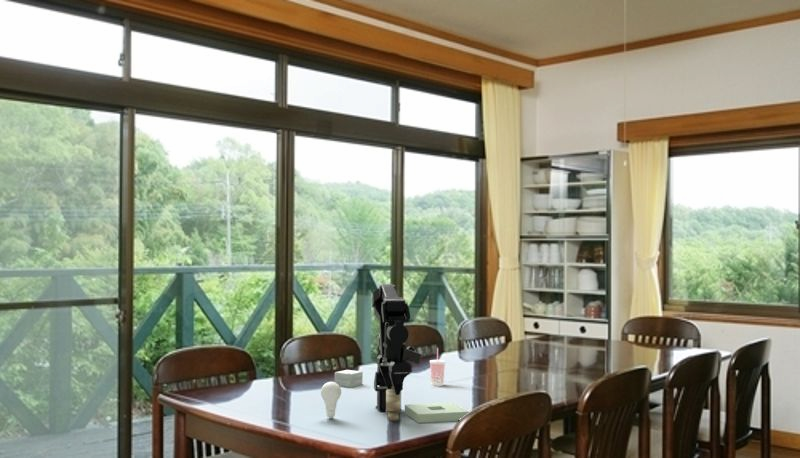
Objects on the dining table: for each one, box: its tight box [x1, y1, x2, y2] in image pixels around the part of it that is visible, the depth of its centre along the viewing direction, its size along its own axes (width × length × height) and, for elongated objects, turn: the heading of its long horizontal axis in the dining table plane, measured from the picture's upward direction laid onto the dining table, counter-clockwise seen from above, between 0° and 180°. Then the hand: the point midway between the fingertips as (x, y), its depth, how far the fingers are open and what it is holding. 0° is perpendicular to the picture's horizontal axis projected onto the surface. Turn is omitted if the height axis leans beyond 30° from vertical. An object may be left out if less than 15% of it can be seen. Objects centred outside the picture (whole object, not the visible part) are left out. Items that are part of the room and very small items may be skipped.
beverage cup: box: [429, 347, 446, 387], centre depth 284 cm, size 6×6×14 cm
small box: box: [334, 369, 363, 388], centre depth 282 cm, size 8×8×5 cm
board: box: [404, 401, 470, 424], centre depth 230 cm, size 16×14×2 cm
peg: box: [385, 389, 402, 422], centre depth 225 cm, size 5×5×9 cm
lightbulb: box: [320, 381, 342, 419], centre depth 226 cm, size 6×6×11 cm
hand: (393, 391), depth 226 cm, fingers open, 9 cm apart
